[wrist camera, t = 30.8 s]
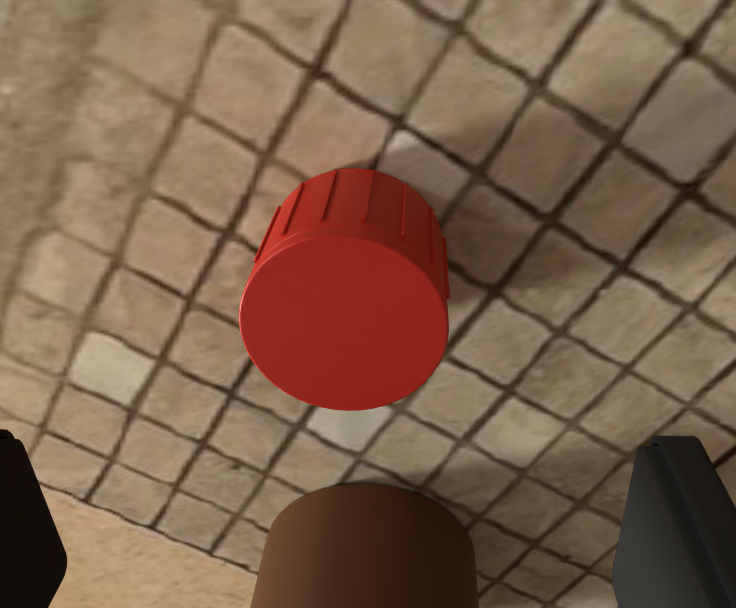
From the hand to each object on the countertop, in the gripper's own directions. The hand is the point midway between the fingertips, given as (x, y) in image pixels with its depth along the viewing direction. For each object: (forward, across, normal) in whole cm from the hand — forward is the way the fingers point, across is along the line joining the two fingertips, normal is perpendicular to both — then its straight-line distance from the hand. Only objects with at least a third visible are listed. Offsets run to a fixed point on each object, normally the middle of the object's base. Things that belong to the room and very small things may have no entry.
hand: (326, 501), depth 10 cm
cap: (+6, 0, -1) cm, 7 cm away
